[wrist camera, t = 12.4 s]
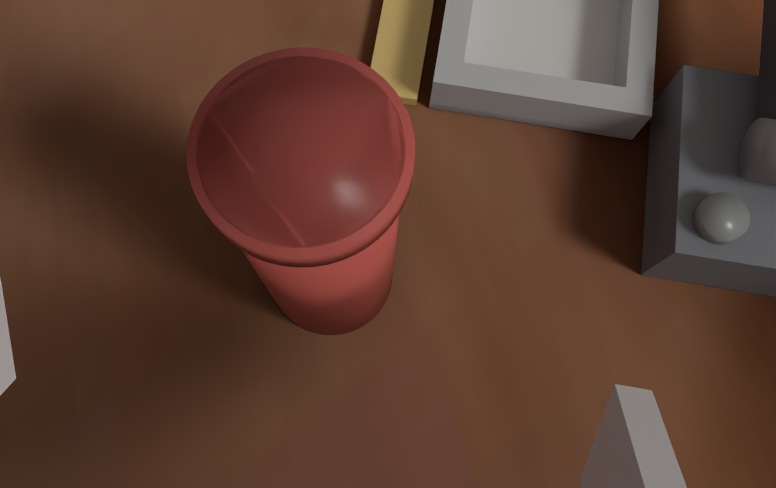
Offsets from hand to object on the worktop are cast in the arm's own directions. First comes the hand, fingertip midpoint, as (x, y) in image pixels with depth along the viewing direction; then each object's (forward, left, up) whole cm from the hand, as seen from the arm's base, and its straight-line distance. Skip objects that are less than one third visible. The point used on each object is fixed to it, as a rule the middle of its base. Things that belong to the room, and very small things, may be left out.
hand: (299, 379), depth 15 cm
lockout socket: (-4, +16, -9) cm, 19 cm away
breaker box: (+7, +16, -9) cm, 19 cm away
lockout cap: (-3, +4, -9) cm, 10 cm away
